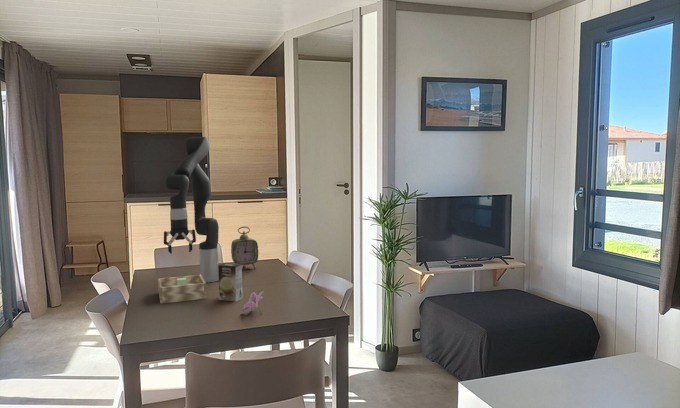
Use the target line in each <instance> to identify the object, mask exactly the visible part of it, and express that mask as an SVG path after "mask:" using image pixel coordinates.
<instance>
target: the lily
mask: <svg viewBox="0 0 680 408" xmlns="http://www.w3.org/2000/svg"><path fill="white" fill-rule="evenodd" d="M262 294H264V290H263V291H260V292H259V294H257V293H255V292H254V291H253V292H252V293H251V294H250V297H249V299H248V302H246V303H244V304H243V306H242V307H244V308H242V310H241V312H240V315H242V314H243V313H245V312H246V311H247V310H248V309H249V310H250V311H254V308H257V309H258V310H259V313H260V315H261V316H262V315H263V313H262V311H261V309H260V308H259V307H258V304H259V301H261V300H262V299H263V296H261V295H262Z"/></svg>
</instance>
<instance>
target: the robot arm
mask: <svg viewBox="0 0 680 408" xmlns="http://www.w3.org/2000/svg"><path fill="white" fill-rule="evenodd" d="M210 146H211V144H210V141H209V138H208V137H206V136H192V137H187V138H186V140H185V152H186V157H184V158H183V159H182V160H181V161H180V162H179V163H178V165H177V167H176V168H175V169H173V170H172V171H171V172H170V173H169V174H168V175H166V177H165V180H164V185H165V187H166V189H167V190H169V191H179V192H178V194H175V195H171V196H170V198H169V205H170V206H169V207H170V211H169V215H170V216H169V220H170V230H169V231H166V230H164V231H163V245H165V246H166V245H167V247H168V248H167V251H168V253H170V254H173V253H172V252H173V250H172V249H173V248H172V244H173V243H174V242H175V241H180V240H182V241H184V240H186V241H187V243H188V252H189V253H191V252H192V251H193V244H194V243H196V242H197V237H196V234H197V235H199V236H205V240H203V241H201V242H200V243H199V245H198V249H199V250H198V253H199V254H198V256H199V275H201V276H202V277H203V279H204V281H205V282H206V283H214V282H219V273H218V265H220V264H219V257H218V243H219V221H218V220H217V219H216V218H214V217H206V206H207V203H208V202H209V199H210V196H211V182H210V178H209V176H208V175H207V174H206V172H205V171H204V170H203V169H202V167H201V166H200V164H199V163H200V162H201V161H202V160H203V159H204V158H205V157H206V156H207V155H208V154H209V152H210V148H211V147H210ZM189 178H190V179H189ZM190 182H191V183H190ZM190 184H191V191H192V197H193V198H192V199H193V208H194V209H193V212H194V228H192V229H190V230H189V224H188V209H187V197H188V195H187V194H188V191H189V187H190ZM189 233H190V235H191V236H192V239H190V237H188V235H189ZM169 236H171V237H170V240H168V237H169ZM167 240H168V241H167Z"/></svg>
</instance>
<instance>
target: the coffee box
mask: <svg viewBox="0 0 680 408" xmlns="http://www.w3.org/2000/svg"><path fill="white" fill-rule="evenodd" d="M218 273H219V281H218V300H219V301H228V302H238V301H240V300H242V299H243V265H242V264H237V263H234V262H222V263H221V264H219V265H218Z"/></svg>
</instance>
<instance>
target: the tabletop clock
mask: <svg viewBox="0 0 680 408" xmlns="http://www.w3.org/2000/svg"><path fill="white" fill-rule="evenodd" d="M240 229H247V230H248V231H242V232H240ZM250 232H251V230H250V227H248V226H240V227H238V229H237V233H239V234H241V235H239V238H236V239H234V240H231V241H232V242H231V245H230V254H231V255H230V256H231V260H232V261H233V262H232V263H237V264H242V269H244V268H245V269H246V265H252V267H253V269H254V270H256V269H257V266H255V263H257V262H258V260H259V245H258V242H257V240H255V239H253V238H251V237H249V236H248V234H249V233H250Z"/></svg>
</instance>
